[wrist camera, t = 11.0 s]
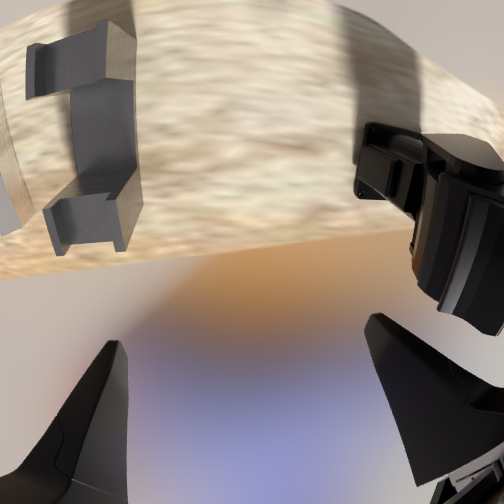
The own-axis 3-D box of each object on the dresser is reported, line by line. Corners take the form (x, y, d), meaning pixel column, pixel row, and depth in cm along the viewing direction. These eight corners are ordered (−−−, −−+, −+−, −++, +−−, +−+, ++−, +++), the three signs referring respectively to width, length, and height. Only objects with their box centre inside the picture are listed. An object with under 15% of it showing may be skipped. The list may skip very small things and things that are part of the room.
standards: (136, 40, 12) (108, 19, 7) (143, 204, 19) (125, 251, 14) (74, 53, 11) (26, 46, 6) (87, 210, 18) (56, 256, 13)
